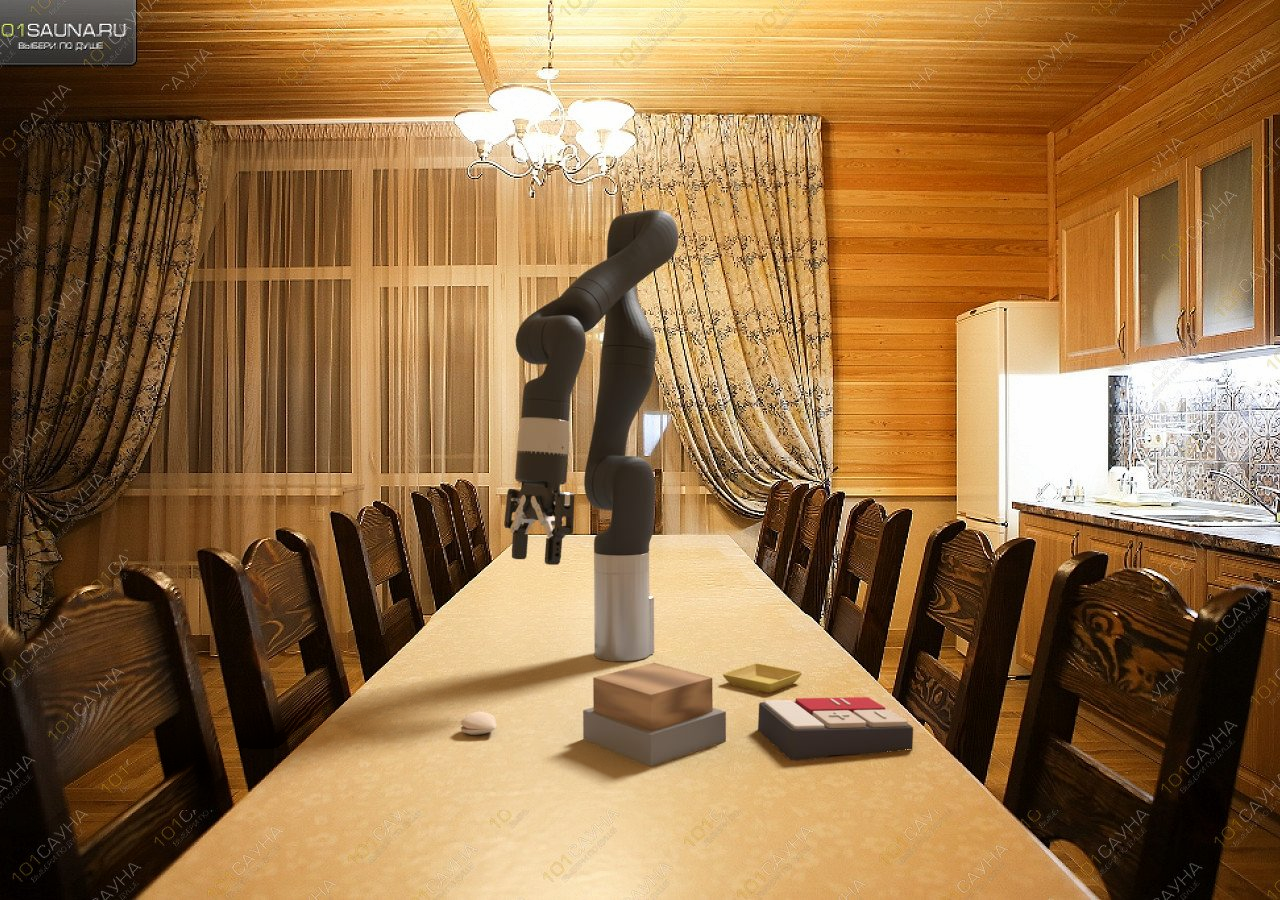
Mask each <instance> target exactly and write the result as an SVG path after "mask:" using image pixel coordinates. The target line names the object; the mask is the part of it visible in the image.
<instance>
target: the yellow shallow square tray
mask: <svg viewBox="0 0 1280 900" xmlns="http://www.w3.org/2000/svg"><path fill="white" fill-rule="evenodd" d="M802 674H803V672H802V671H799V670H793V669H789V668H783V667H778V666H775V665H767V664H762V663H752V664H748V665H746V666H742V667H739V668H736V669H733V670H730V671H726V672H724V673H723V672H722V676H723V678H724V680H726V682H728V684H730V685H731V686H734V687H739V688H744V689H748V690H753V691H757V692H760V693H761V692H762V693H765V694H771V693H774V692H776V691H778V690H781V689H783V688H787V687H788V686H792V685H794V684H795V683H796V682H797V681H798V680H799V679H800V677H801V676H802Z"/></svg>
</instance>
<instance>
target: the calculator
mask: <svg viewBox="0 0 1280 900" xmlns="http://www.w3.org/2000/svg"><path fill="white" fill-rule="evenodd" d="M757 719H758V722H757V723H758V725H757V731H759V733H760V734H762V736H764V738H766V739H767V740H768V741H769V742H770V743H771V744H772V745H774V747H775V748H776V749H777V750H779V751H780V752H781V753H782V754H783V755H784V756H785V757H786V758H787V759H788V760H790V761H802V760H803V761H806V760H812V759H815V758H816V759H825V758H828V757H830V756H852V755H853V756H855V755H857V756H858V755H872V753H873V754H882V752H885V753H890V752H889V751H896V752H899V751H898V750H905V749H906V750H907V749H912V750H913V743H914V741H913V740H914V727H913V726H912V725H911V724H909V721H908V720H906V719H905V718H904V717H902V716H900V715H898V714H897V713H895V712H893V711H892V710H890V709H886V707H885V706H883V705H882V704H880V703H879V702H877V701H875V700H874V699H872V698H871V697H868V696H860V697H859V696H857V697H856V696H853V697H850V696H849V697H847V696H846V697H800V698H799V697H798V698H796V697H795V701H794V700H791V699H772V700H771V699H770V700H767V699H766V700H764V701H763V702H759V704H758V718H757ZM887 751H888V752H887ZM880 752H881V753H880ZM870 753H871V754H870ZM816 759H815V760H816Z"/></svg>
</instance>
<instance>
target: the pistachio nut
mask: <svg viewBox="0 0 1280 900" xmlns="http://www.w3.org/2000/svg"><path fill="white" fill-rule="evenodd" d="M460 724H461V725H460V726H461V727H460V729H461V732H463V733H465V734H467V735H470V736H479V735H484V734H488V733H490V732H492V731H495V730H496V729H497V720H496V718H495V717H494V715H492V714H491V713H487V712H486V711H482V710H481V711H475V712H470V713H468V714H466V715H465V716H464V717H463V718H462V720H461V721H460Z"/></svg>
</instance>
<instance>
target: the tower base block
mask: <svg viewBox="0 0 1280 900" xmlns="http://www.w3.org/2000/svg"><path fill="white" fill-rule="evenodd" d="M582 714H583V716H582V717H583V718H582V719H583V720H582V722H583V723H582V726H583V727H582V728H583V729H582V730H583V731H582V733H583V734H582V736H583V737H582V738H583V740H584V741H587V742H589V743H592V744H595V745H597V746H599V747H602V748H604V749H607V750H609V751H611V752H614V753H616V754H618V755H620V756H621V755H622V756H624V757H626V758H629V759H631V760H634V761H636V762H638V763H641V764H644V765H646V766H648V767H655V766H657V765H661V764H663V763H666V762H669V761H671V760H675V759H678V758H681V757H683V756H684V757H685V756H687V755H689V754H690V755H691V754H692V753H695V752H699V751H702V750H704V749H708V748H710V747H713V746H716V745H719V744H722V743H725V742H727V711H725V710H722V709H719V708H715V707H713V711H712V712H709V713H706V714H703V715H700V716H697V717H694V718H690V719H687V720H684V721H681V722H678V723H675V724H671V725H668V726H665V727H662V728H659V729H656V730H652V731H650V730H648V729H645V728H642V727H639V726H636V725H633V724H630V723H627V722H624V721H621V720H618V719H616V718H613V717H610V716H607V715H604V714H601V713H598V712H595V711H594V706H593V707H590V708H587V709H583V710H582Z"/></svg>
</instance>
